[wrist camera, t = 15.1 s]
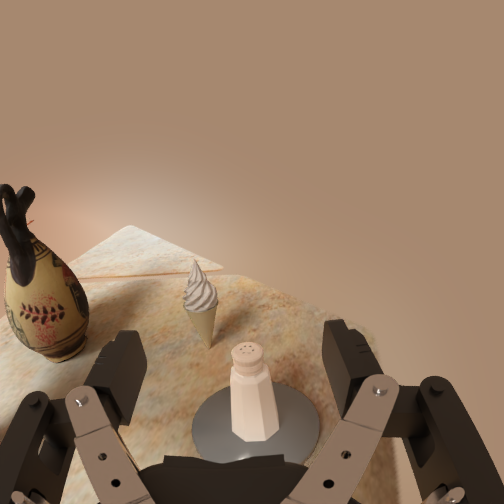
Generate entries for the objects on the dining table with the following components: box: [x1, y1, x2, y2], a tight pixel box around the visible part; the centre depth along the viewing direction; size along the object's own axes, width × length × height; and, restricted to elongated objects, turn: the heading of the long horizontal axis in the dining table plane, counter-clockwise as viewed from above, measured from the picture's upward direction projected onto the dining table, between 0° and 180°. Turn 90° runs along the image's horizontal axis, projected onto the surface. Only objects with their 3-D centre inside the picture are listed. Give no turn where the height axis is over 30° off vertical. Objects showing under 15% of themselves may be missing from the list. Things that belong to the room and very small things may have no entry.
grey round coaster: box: [192, 382, 320, 465], centre depth 30 cm, size 14×14×2 cm
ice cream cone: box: [183, 259, 218, 349], centre depth 43 cm, size 5×5×15 cm
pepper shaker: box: [230, 342, 279, 442], centre depth 28 cm, size 5×5×11 cm
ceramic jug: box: [0, 184, 89, 363], centre depth 39 cm, size 17×15×30 cm
